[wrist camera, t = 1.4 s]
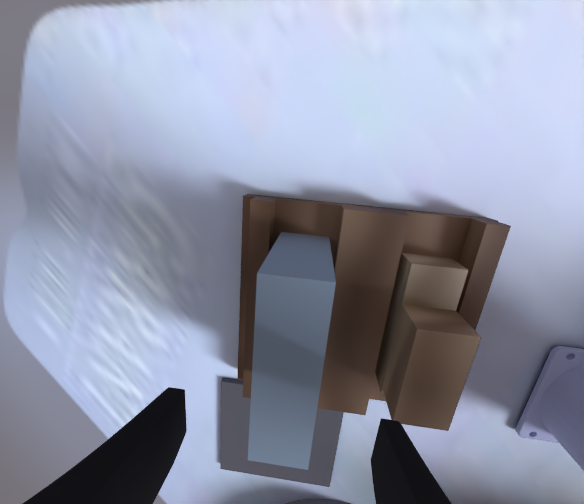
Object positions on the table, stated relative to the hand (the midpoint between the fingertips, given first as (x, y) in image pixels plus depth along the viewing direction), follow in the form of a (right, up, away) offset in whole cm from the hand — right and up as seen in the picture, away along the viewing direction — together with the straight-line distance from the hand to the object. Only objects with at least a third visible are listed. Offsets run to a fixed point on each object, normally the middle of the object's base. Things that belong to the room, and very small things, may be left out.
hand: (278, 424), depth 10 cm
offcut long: (+8, +2, +8) cm, 12 cm away
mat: (-1, -9, +13) cm, 16 cm away
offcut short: (+8, 0, +6) cm, 10 cm away
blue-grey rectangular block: (+1, +3, +9) cm, 9 cm away
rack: (+4, +3, +9) cm, 11 cm away
